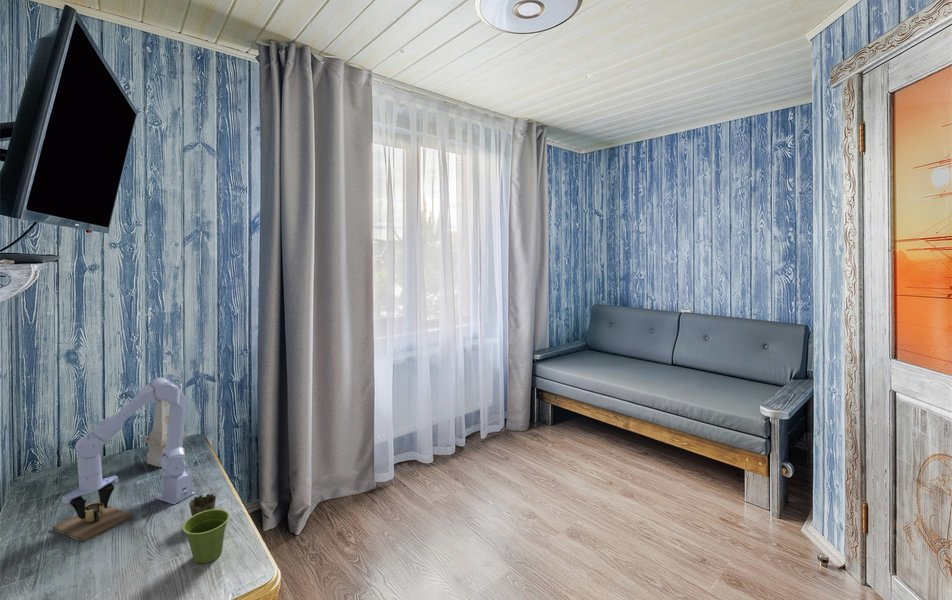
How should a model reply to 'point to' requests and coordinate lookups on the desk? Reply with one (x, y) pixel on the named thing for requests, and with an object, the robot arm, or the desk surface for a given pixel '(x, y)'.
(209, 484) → the desk surface
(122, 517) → the post stand
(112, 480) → the robot arm
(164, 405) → the miniature monument
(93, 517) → the brass collar
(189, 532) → the plant pot
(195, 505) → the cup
